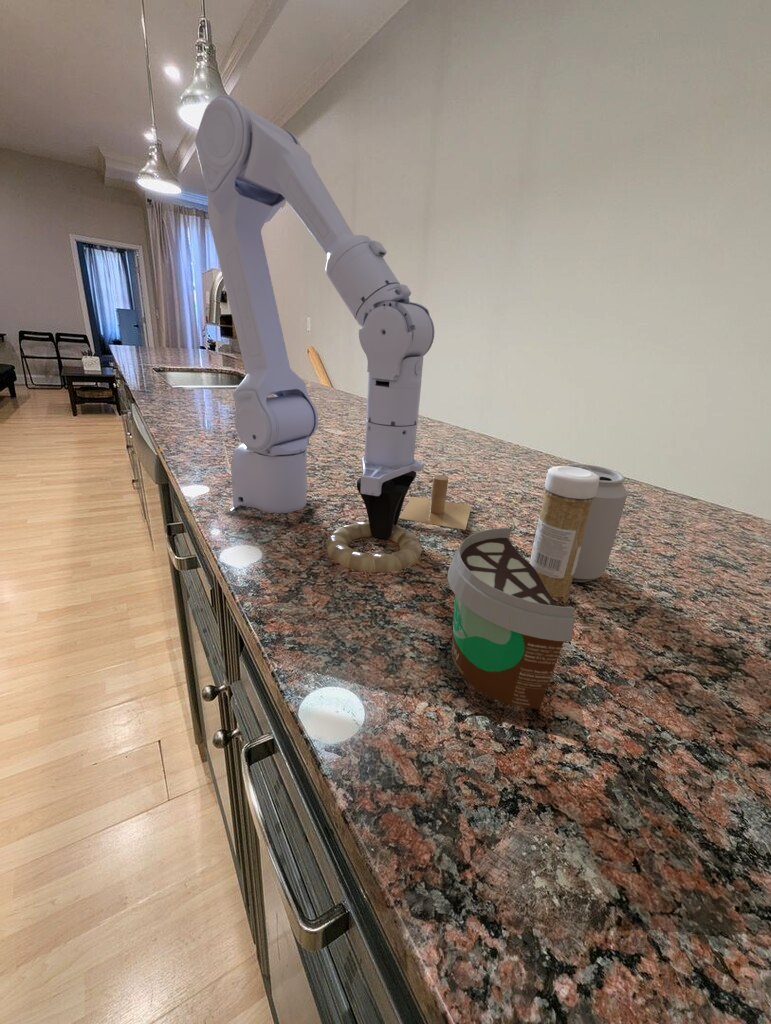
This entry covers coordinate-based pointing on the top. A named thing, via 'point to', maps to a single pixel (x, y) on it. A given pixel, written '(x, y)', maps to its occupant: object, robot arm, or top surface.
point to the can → (600, 523)
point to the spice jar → (562, 526)
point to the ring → (369, 562)
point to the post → (437, 508)
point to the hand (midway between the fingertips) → (383, 531)
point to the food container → (504, 621)
